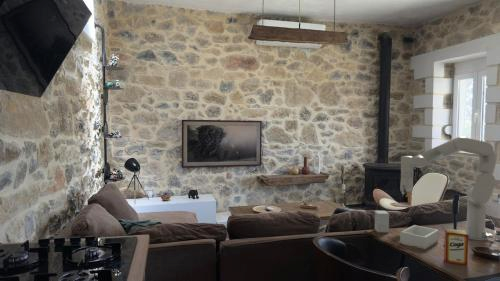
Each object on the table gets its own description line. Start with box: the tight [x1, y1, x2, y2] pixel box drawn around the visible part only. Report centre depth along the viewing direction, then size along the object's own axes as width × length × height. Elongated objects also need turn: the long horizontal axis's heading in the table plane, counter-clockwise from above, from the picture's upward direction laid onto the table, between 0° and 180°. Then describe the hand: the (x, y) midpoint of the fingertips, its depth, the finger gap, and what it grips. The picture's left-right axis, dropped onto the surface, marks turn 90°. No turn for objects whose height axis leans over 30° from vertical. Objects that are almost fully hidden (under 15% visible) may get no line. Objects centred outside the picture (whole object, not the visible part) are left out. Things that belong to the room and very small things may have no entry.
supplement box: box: [374, 210, 390, 233], centre depth 226 cm, size 7×7×13 cm
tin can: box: [402, 190, 412, 206], centre depth 227 cm, size 5×5×10 cm
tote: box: [399, 224, 439, 250], centre depth 204 cm, size 20×14×7 cm
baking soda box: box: [443, 228, 469, 266], centre depth 175 cm, size 10×6×16 cm
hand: (407, 201), depth 228 cm, fingers closed on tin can, 5 cm apart
